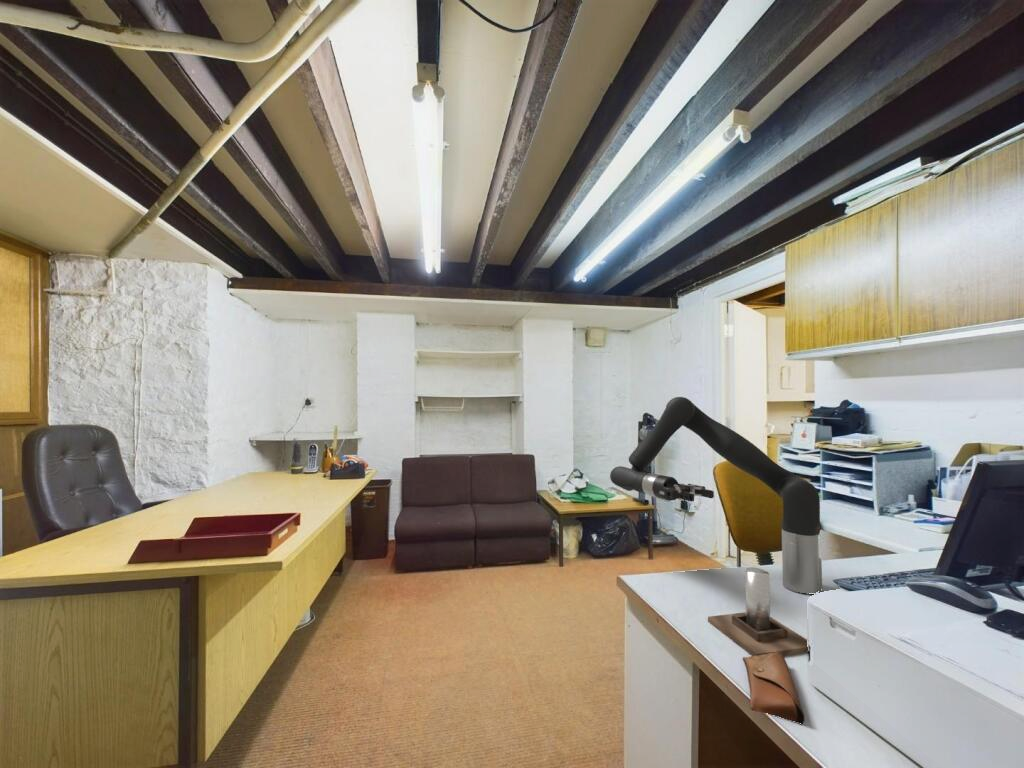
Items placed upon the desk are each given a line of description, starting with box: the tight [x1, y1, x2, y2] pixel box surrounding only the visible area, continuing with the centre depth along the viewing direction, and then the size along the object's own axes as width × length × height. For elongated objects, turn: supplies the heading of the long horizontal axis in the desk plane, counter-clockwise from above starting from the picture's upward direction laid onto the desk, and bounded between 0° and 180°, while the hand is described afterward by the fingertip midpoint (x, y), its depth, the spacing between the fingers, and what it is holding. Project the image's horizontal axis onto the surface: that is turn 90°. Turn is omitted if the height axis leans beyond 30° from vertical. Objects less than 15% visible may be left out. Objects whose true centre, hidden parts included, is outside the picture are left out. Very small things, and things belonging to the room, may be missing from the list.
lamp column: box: [745, 567, 771, 632], centre depth 99 cm, size 5×5×14 cm
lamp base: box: [707, 611, 808, 657], centre depth 99 cm, size 16×16×3 cm
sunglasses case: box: [742, 650, 805, 725], centre depth 81 cm, size 18×7×7 cm
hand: (703, 496), depth 119 cm, fingers open, 8 cm apart
